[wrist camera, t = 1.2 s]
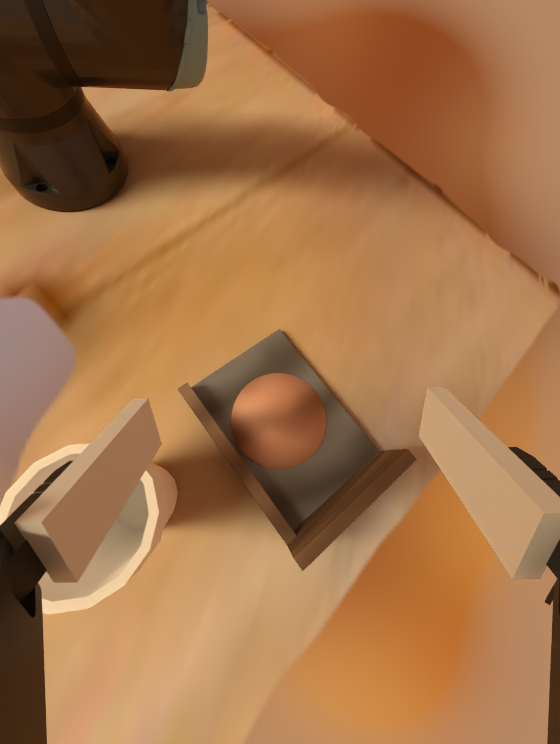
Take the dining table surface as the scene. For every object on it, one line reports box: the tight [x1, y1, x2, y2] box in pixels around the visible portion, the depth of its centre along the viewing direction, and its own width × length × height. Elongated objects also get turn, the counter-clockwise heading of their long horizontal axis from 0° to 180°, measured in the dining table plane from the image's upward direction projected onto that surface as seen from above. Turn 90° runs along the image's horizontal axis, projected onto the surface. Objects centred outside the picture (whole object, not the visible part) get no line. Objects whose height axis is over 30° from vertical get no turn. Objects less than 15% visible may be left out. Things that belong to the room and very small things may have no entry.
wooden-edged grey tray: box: [178, 329, 417, 571], centre depth 30 cm, size 20×14×7 cm
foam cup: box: [0, 444, 178, 615], centre depth 24 cm, size 10×9×13 cm
